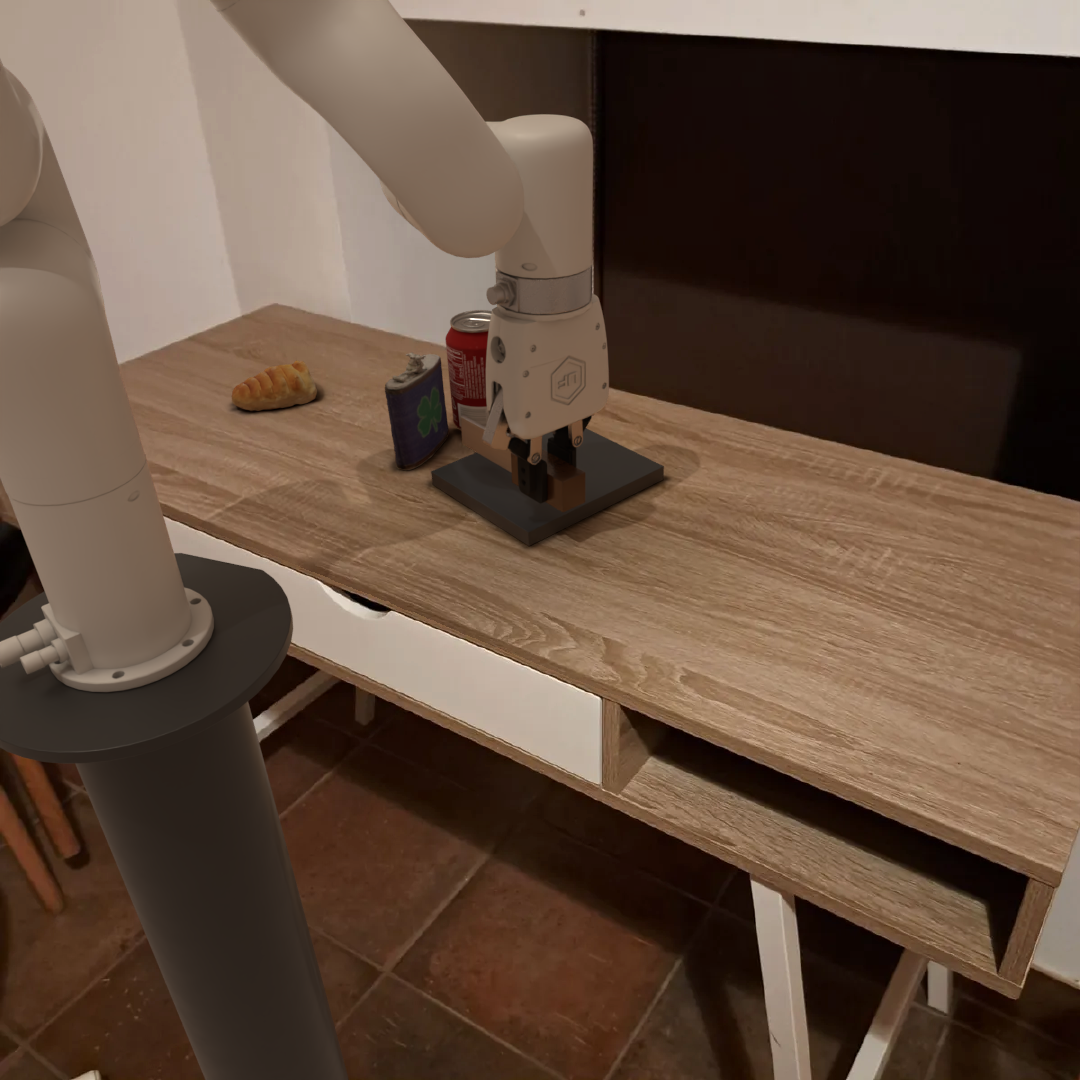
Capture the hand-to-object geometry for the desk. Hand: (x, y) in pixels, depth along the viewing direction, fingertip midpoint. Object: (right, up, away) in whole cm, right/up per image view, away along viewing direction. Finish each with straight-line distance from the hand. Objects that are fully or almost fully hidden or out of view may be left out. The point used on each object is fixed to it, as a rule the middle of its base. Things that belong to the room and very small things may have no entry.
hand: (547, 488), depth 89 cm
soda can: (-7, +8, +21) cm, 23 cm away
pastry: (-31, +12, +28) cm, 43 cm away
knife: (-3, +1, +3) cm, 4 cm away
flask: (-13, +5, +16) cm, 21 cm away
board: (0, +1, +10) cm, 10 cm away
